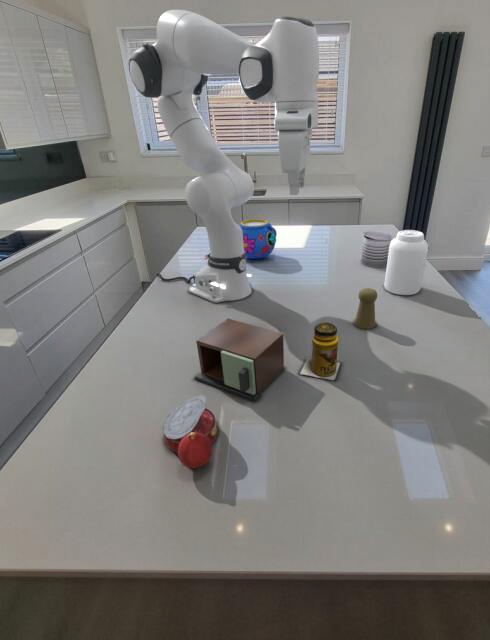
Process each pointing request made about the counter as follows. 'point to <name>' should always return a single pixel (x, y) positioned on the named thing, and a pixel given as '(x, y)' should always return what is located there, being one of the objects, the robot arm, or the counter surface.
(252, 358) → the cabinet
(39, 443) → the counter surface
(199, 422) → the canned food
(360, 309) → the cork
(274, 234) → the ceramic pot
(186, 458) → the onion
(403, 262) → the white jar
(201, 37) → the robot arm
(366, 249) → the can
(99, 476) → the counter surface
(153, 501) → the counter surface
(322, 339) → the condiment
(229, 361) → the sliding door
